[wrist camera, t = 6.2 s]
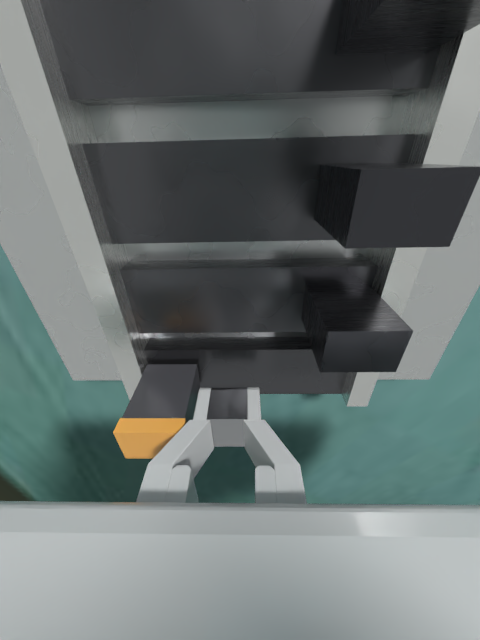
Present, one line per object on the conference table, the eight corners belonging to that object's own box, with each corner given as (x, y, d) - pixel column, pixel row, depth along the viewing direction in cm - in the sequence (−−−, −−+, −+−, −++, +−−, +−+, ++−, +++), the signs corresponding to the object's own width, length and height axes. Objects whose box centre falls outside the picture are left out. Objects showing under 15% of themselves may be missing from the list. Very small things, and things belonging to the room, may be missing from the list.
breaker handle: (145, 363, 12) (113, 432, 9) (198, 363, 12) (182, 432, 9) (153, 388, 13) (125, 458, 10) (201, 388, 13) (188, 458, 10)
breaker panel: (-87, -10, 8) (-636, -284, 3) (600, -42, 7) (1324, -442, 2) (86, 362, 16) (18, 452, 11) (414, 360, 15) (490, 454, 10)
